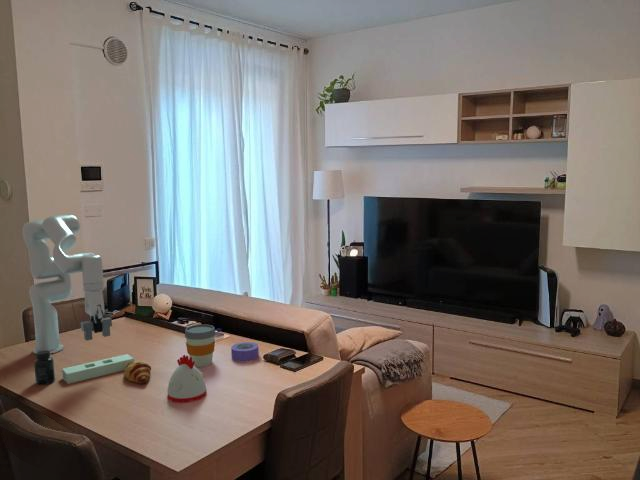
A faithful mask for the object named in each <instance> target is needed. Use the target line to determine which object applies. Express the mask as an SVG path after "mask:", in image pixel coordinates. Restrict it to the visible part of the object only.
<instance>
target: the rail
mask: <svg viewBox="0 0 640 480" xmlns="http://www.w3.org/2000/svg"><path fill="white" fill-rule="evenodd" d="M134 358H135V357H133V356H132V355H130V354H128V353H126V354H122V355H117V356H114V357H109V358H103V359H99V360H95V361H90V362H85V363H82V364H78V365H77V364H76V365H73V366H70V367H69V366H68V367H64V368H62V370H61V371H62V372H61V373H62V379H63V381H64V382H65V383H66V384H68V385H69V384H73V383H76V382H81V381H85V380H90V379H94V378H98V377H101V376H105V375H111V374H114V373H118V372H121V371H123V372H124V371H125V367H126V365H127V364H128V363H130V362H135V359H134Z"/></svg>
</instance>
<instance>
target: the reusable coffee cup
mask: <svg viewBox="0 0 640 480" xmlns="http://www.w3.org/2000/svg"><path fill="white" fill-rule="evenodd" d="M215 335H216V329H215V326H214V325H211V324H194V325H190V326H188V327H186V328H185V331H184V338H185V340H186V341H185V345H186V351H187V355H188V358H190V357H192V362H193V361H195V363H194V366H195V367H196V368H198V367H207V366H209V365H212V363H213V355H214V354H213V353H214V352H215V343H216V339H215Z"/></svg>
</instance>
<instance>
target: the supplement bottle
mask: <svg viewBox="0 0 640 480" xmlns="http://www.w3.org/2000/svg"><path fill="white" fill-rule="evenodd" d="M35 355H36V356H35V358H36V359H35V360H34V363H33V366H34V367H33V369H34V378H35V379H34V380H35V384H36V385H39V386H45V385H49V384H52V383H54V382H55V381H56V374H55V361H54V358H53V357H51V354H50V351H48V350H45V351H39V352H37V353H36V354H35Z"/></svg>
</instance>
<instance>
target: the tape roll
mask: <svg viewBox="0 0 640 480" xmlns="http://www.w3.org/2000/svg"><path fill="white" fill-rule="evenodd" d="M230 348H231V349H230V350H231V360H233V361H235V362H240V363H241V362H242V363H244V362H245V363H247V362H252V361H256V360H257V359H258V358H259V355H260V353H259V344H258V343H255V342H252V341H251V342H250V341H245V342H238V343H237V342H236V343H235V344H233V345H231V347H230Z"/></svg>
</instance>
